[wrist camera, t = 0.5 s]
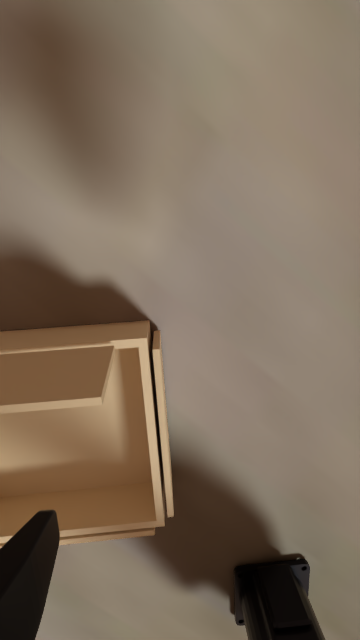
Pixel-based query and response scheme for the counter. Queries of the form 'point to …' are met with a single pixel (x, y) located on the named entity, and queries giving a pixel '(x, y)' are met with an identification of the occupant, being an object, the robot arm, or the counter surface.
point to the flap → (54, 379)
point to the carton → (91, 443)
